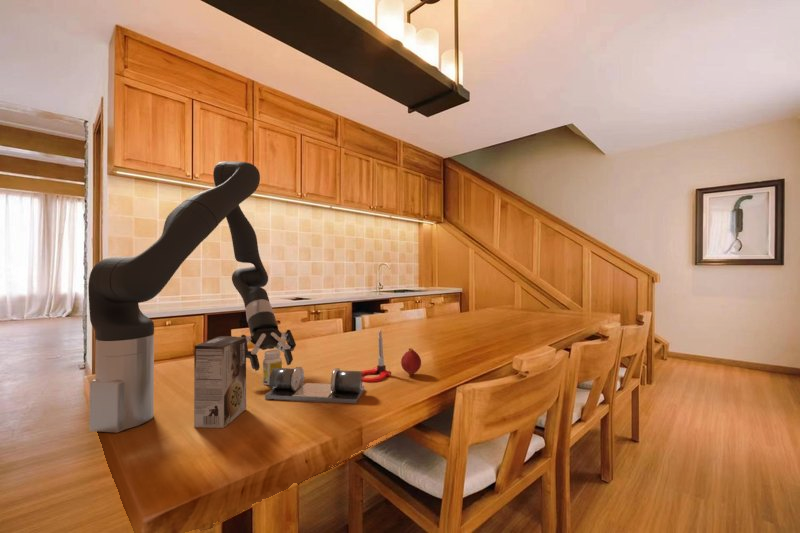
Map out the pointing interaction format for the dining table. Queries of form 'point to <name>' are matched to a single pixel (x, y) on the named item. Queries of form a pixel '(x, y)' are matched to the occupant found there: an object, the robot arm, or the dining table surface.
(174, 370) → the dining table surface
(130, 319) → the robot arm
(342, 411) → the dining table surface
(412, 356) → the onion
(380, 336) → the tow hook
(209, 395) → the coffee box
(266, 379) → the supplement bottle
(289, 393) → the twin cylinder plate
